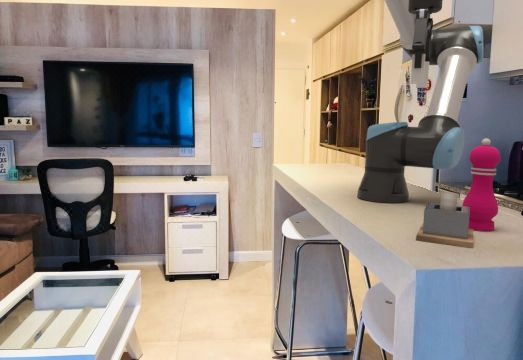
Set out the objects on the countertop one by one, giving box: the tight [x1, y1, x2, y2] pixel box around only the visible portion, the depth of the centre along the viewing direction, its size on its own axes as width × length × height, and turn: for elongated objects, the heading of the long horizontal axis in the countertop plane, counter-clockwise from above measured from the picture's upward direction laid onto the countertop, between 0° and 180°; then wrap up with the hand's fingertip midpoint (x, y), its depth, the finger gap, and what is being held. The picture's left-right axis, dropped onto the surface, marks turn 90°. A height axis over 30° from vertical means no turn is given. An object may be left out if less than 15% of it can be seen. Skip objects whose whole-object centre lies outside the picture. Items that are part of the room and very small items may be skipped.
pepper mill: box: [461, 137, 501, 232], centre depth 93 cm, size 7×7×20 cm
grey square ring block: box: [422, 202, 470, 239], centre depth 85 cm, size 8×8×5 cm
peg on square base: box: [415, 191, 474, 249], centre depth 85 cm, size 12×10×9 cm
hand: (419, 86), depth 103 cm, fingers open, 13 cm apart
